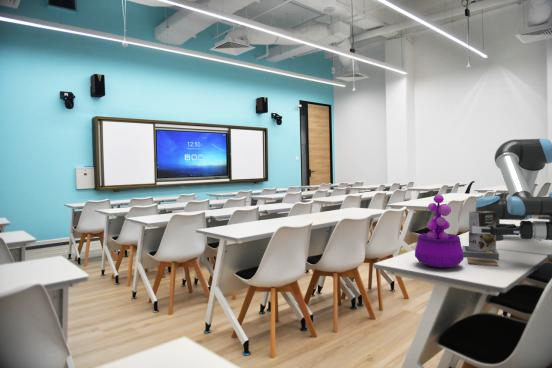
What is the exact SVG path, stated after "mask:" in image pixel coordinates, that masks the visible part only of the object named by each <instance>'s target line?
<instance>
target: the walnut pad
mask: <svg viewBox="0 0 552 368" xmlns="http://www.w3.org/2000/svg"><path fill="white" fill-rule="evenodd" d="M466 259H468V260H467V264H468V265H472V266H473V265H474V266H475V265H476V266H486V267H487V266H488V267H489V266H490V267H499V263H498V260H497V259H490V258H475V257H467V258H466Z"/></svg>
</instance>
